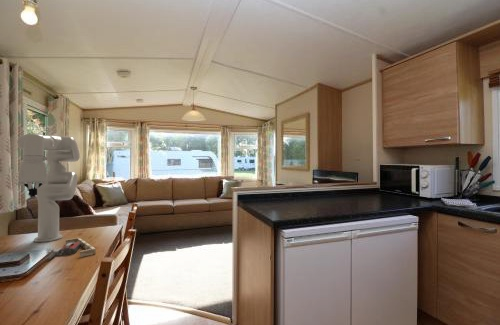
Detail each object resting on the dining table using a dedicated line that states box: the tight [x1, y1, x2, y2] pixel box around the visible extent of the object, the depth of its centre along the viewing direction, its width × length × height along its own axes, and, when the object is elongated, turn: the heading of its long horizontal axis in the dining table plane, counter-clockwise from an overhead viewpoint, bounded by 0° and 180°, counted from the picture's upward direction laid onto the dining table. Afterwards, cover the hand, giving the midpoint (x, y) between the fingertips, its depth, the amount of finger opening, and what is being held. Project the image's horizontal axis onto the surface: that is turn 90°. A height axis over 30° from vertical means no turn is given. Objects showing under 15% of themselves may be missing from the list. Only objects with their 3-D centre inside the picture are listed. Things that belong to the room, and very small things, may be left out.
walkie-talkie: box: [47, 242, 82, 261], centre depth 119 cm, size 9×4×20 cm
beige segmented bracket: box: [64, 237, 97, 258], centre depth 125 cm, size 27×6×2 cm, turn 49°
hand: (32, 196), depth 120 cm, fingers closed
